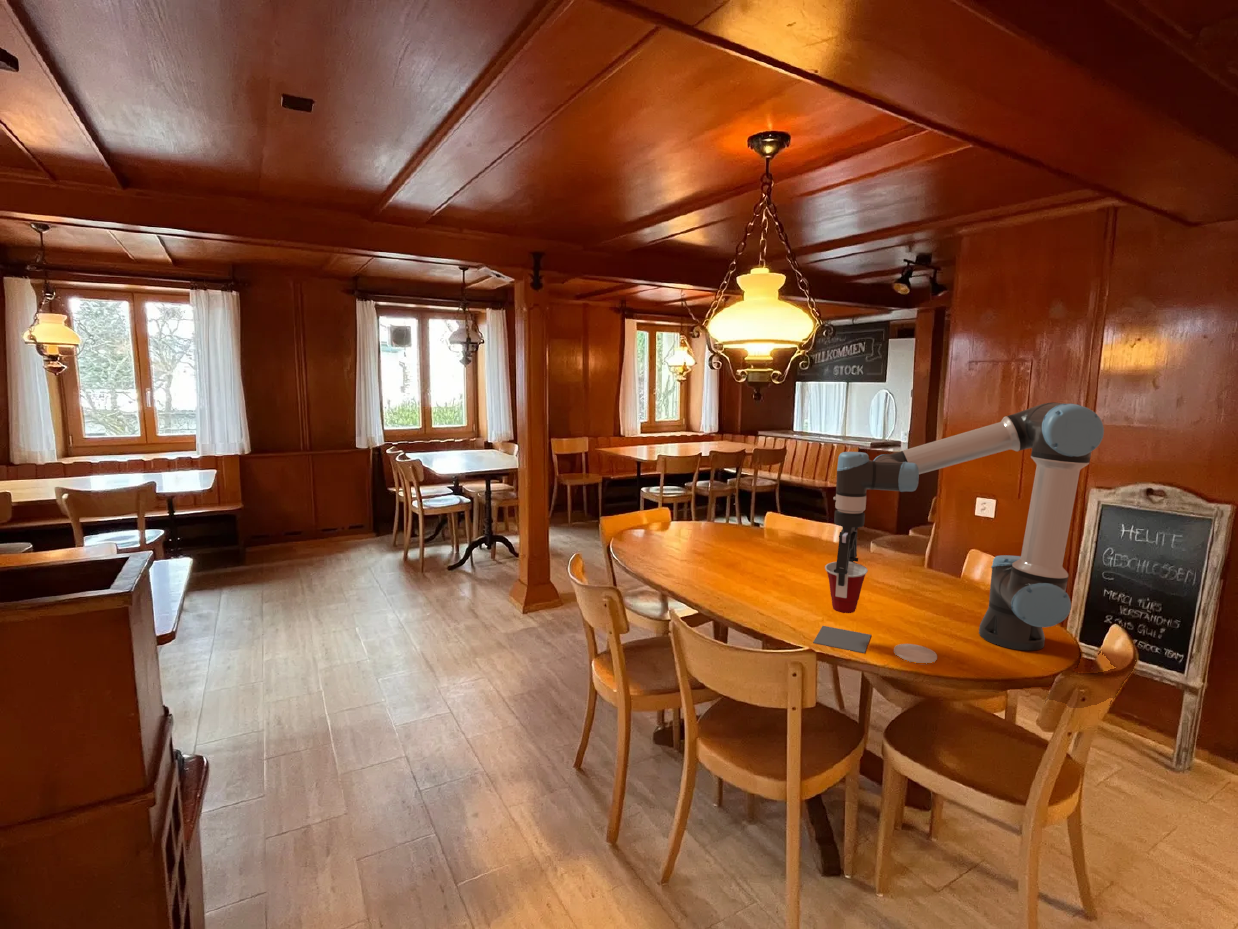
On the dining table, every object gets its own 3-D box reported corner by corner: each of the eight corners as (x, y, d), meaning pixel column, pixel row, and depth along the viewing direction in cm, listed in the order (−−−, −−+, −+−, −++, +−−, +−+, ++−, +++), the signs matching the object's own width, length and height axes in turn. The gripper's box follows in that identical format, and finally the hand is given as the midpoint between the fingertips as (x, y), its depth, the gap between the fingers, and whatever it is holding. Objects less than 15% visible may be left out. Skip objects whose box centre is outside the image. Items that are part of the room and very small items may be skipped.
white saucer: (937, 653, 161) (937, 649, 161) (935, 669, 152) (936, 664, 152) (895, 645, 166) (896, 641, 166) (891, 659, 157) (892, 655, 157)
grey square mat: (870, 637, 171) (871, 634, 171) (864, 655, 160) (864, 652, 160) (822, 628, 177) (822, 625, 177) (812, 645, 166) (813, 642, 166)
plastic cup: (815, 609, 167) (817, 566, 166) (833, 599, 175) (836, 558, 173) (853, 620, 160) (856, 576, 158) (871, 610, 167) (874, 567, 166)
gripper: (842, 501, 175) (838, 576, 178) (826, 517, 155) (821, 601, 158) (871, 504, 172) (865, 580, 175) (857, 520, 152) (852, 606, 155)
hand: (844, 590), depth 167 cm, fingers closed on plastic cup, 11 cm apart
